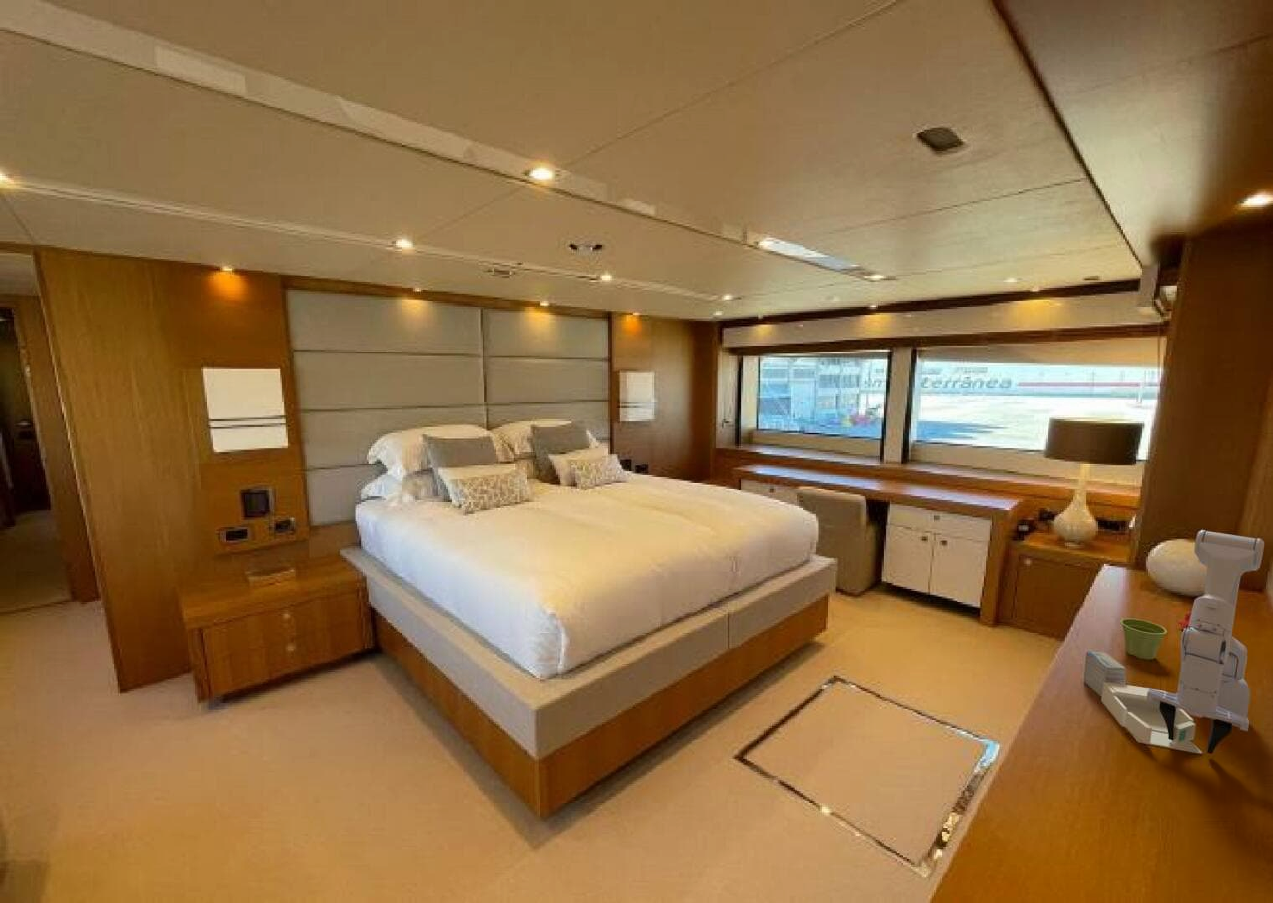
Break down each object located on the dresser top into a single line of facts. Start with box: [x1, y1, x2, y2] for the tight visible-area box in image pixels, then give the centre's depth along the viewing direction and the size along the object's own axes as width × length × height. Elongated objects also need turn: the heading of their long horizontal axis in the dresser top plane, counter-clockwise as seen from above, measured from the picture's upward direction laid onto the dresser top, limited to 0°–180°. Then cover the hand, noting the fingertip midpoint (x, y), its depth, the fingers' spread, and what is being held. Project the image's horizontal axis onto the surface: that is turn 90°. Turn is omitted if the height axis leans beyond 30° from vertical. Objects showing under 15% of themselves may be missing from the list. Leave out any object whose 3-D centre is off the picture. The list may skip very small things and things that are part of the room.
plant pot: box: [1120, 618, 1168, 661], centre depth 148 cm, size 9×9×9 cm
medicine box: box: [1083, 651, 1127, 698], centre depth 131 cm, size 8×4×9 cm, turn 168°
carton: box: [1100, 682, 1203, 755], centre depth 118 cm, size 12×16×5 cm
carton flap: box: [1171, 721, 1197, 745], centre depth 112 cm, size 5×1×4 cm, turn 107°
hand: (1189, 744), depth 111 cm, fingers open, 5 cm apart
